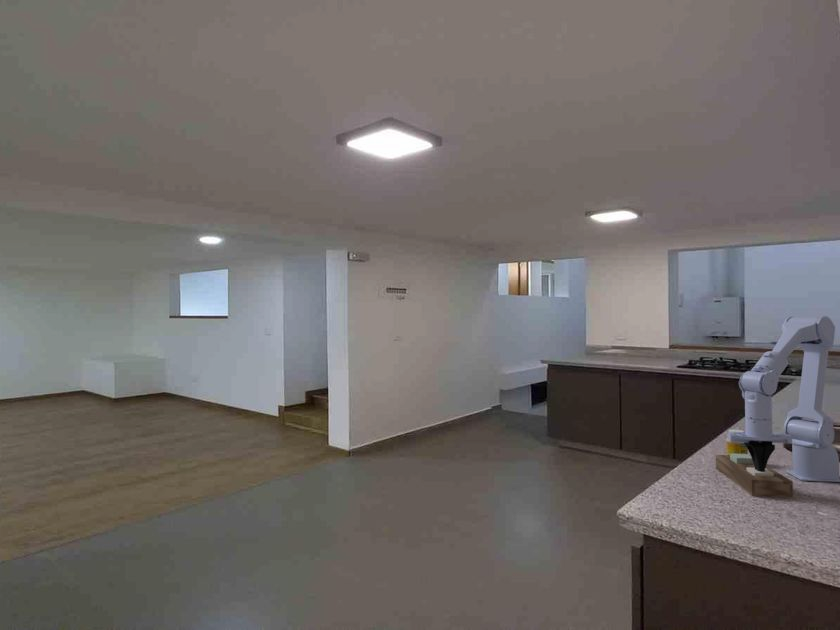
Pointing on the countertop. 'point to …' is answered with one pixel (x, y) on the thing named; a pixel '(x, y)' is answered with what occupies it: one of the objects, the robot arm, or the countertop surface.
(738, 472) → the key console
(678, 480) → the countertop surface
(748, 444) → the robot arm
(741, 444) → the supplement bottle
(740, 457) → the sage key
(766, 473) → the off white key
